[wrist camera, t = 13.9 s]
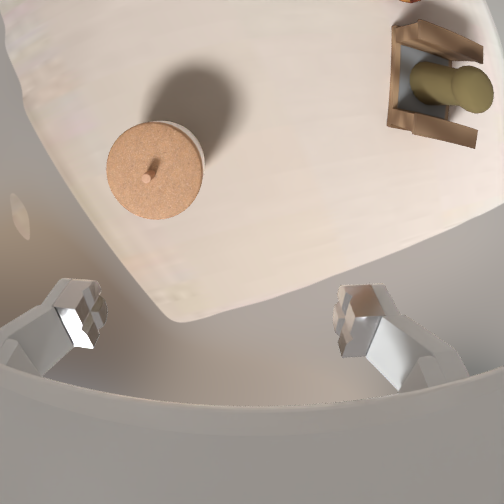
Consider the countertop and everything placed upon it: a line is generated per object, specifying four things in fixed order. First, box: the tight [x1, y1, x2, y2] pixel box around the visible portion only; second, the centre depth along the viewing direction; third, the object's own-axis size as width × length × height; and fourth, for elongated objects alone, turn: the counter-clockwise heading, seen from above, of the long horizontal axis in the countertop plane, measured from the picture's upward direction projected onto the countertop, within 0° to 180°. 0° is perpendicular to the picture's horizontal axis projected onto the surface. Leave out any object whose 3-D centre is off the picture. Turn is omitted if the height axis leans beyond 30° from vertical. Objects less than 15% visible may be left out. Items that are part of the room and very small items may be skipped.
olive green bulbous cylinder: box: [410, 61, 494, 113], centre depth 23 cm, size 6×6×11 cm
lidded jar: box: [106, 121, 205, 220], centre depth 31 cm, size 11×11×9 cm
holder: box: [387, 19, 483, 149], centre depth 26 cm, size 14×9×8 cm
